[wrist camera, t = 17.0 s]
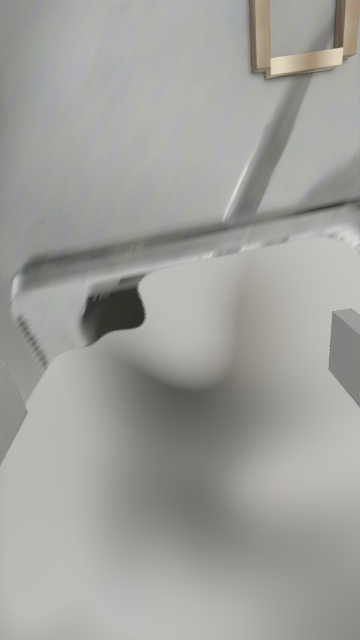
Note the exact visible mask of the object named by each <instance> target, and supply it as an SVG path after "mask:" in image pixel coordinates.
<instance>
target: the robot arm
mask: <svg viewBox="0 0 360 640" xmlns="http://www.w3.org/2000/svg"><path fill="white" fill-rule="evenodd" d="M329 370H330V372H331V373H332V374H333V375H334V376H335V378H336V379H337V380H338V381H339V382H340V384H341V385H342V386H343V387H344V389H345V390H346V391H347V392H348V393H349V395H350V396H351V397H352V398H353V400H354V401H355V402H356V403H357V405H358V406H359V407H360V314H358V313H357V312H356V311H355V310H353V309H352V308H351V309H345V310H338V311H333V312H332V326H331V341H330V355H329ZM27 413H28V412H27V410H26V407H25V405H24V402H23V400H22V398H21V395H20V393H19V391H18V388H17V386H16V384H15V381H14V379H13V377H12V374H11V372H10V370H9V367H8V365H7V363H6V360H5V359H2V360H0V465H1V463H2V461H3V459H4V457H5V455H6V453H7V451H8V449H9V448H10V446H11V444H12V442H13V440H14V438H15V436H16V434H17V432H18V430H19V429H20V427H21V425H22V423H23V421H24V419H25V417H26V415H27Z"/></svg>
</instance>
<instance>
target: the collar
mask: <svg viewBox="0 0 360 640" xmlns="http://www.w3.org/2000/svg"><path fill="white" fill-rule="evenodd" d="M359 11H360V0H337V1H336V20H335V39H334V49H329V50H322V51H316V52H309V53H302V54H296V55H289V56H283V57H276V58H271V55H270V0H250V25H251V55H252V73H259V72H265V79H271V78H278V77H285V76H291V75H298V74H305V73H311V72H318V71H324V70H331V69H334V68H336V67H338V66H340V65H342V60H345V59H348V58H350V57H351V56H353V55H355V54H356V51H357V37H358V24H359Z"/></svg>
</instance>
